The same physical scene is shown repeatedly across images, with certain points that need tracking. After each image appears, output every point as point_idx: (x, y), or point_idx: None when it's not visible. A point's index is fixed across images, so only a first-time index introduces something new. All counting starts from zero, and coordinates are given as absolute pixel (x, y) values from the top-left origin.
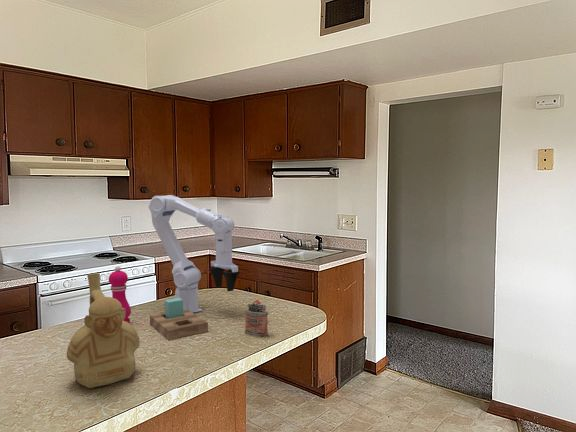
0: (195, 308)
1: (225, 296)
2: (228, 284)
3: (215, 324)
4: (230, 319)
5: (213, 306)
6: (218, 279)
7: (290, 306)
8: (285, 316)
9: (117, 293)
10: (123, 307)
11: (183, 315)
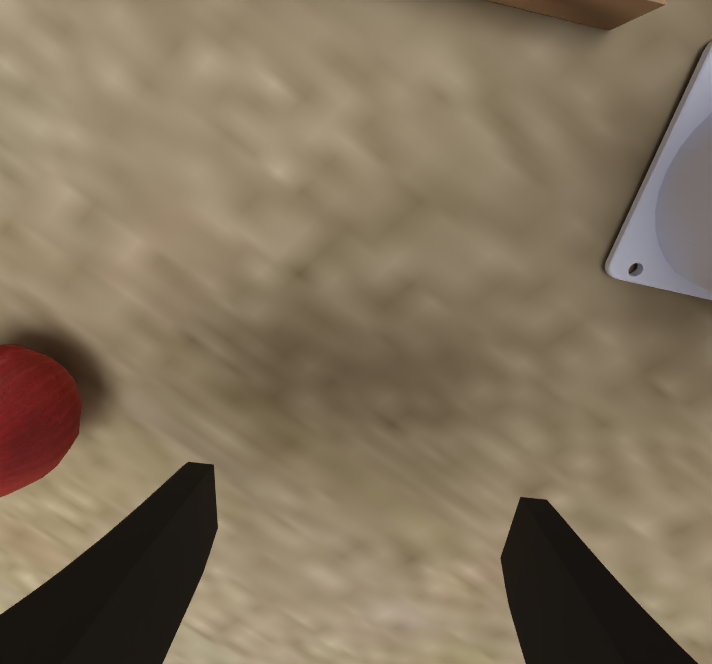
0: (667, 215)
1: (708, 596)
2: (94, 548)
3: (199, 110)
4: (233, 290)
5: (616, 411)
6: (564, 653)
7: (209, 652)
8: (65, 539)
9: None
10: None
11: None
